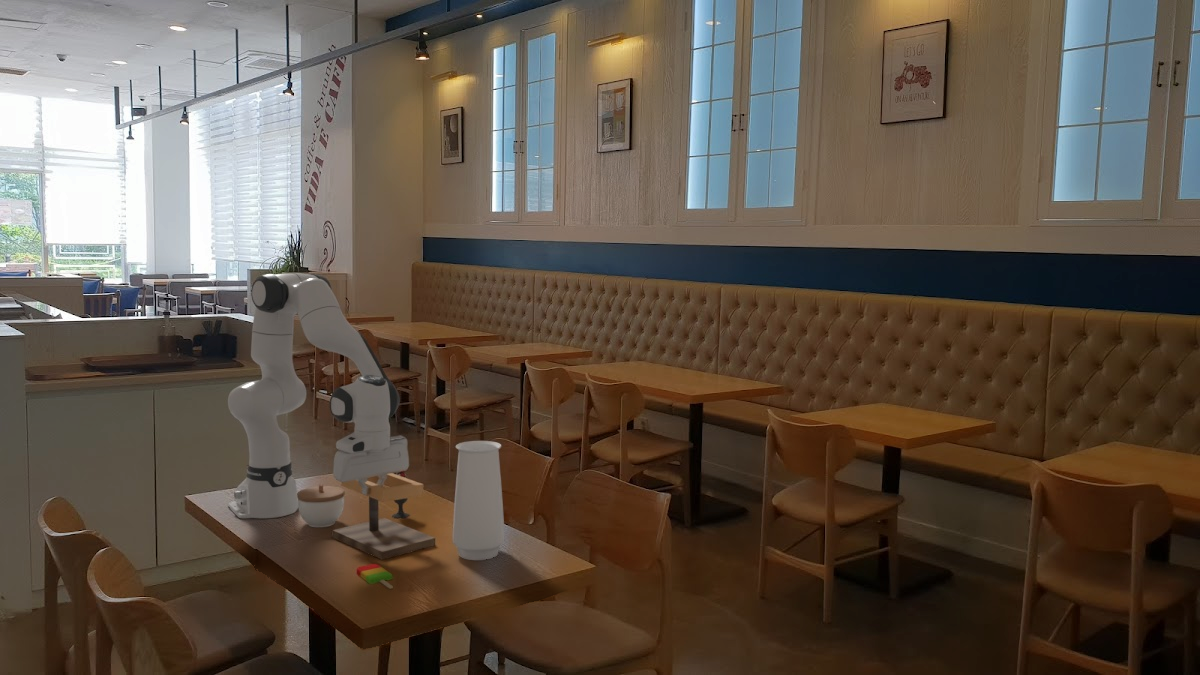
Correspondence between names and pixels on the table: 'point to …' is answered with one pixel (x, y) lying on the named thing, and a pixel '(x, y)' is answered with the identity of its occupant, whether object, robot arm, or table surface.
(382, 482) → the robot arm
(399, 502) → the sundae
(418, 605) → the table surface
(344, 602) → the table surface
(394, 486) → the link
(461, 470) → the vase
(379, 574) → the popsicle
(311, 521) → the lidded bowl
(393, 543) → the stand
